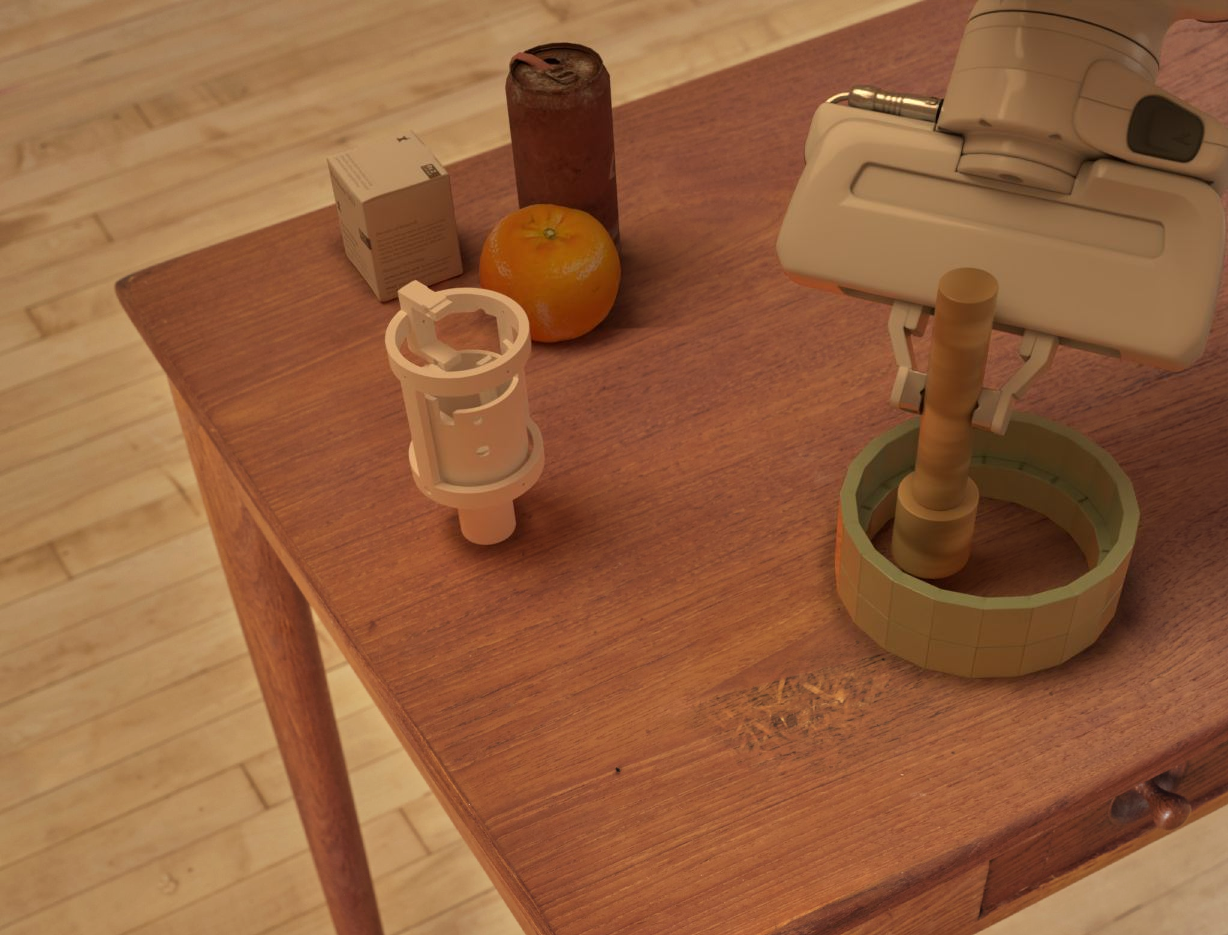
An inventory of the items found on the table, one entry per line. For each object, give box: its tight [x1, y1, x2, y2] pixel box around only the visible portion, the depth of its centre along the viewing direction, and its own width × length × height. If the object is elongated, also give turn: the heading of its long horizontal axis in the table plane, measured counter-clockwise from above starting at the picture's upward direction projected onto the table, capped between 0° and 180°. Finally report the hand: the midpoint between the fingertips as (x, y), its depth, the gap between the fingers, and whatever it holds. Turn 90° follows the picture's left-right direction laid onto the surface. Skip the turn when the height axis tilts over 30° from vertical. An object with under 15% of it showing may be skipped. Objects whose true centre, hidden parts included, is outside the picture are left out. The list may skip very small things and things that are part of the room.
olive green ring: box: [834, 410, 1141, 679], centre depth 82 cm, size 15×15×6 cm
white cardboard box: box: [326, 129, 464, 303], centre depth 101 cm, size 6×6×7 cm
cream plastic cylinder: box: [384, 280, 546, 546], centre depth 83 cm, size 7×7×15 cm
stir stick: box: [890, 268, 999, 580], centre depth 76 cm, size 4×4×16 cm
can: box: [504, 41, 622, 268], centre depth 97 cm, size 6×6×14 cm
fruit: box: [478, 204, 622, 344], centre depth 97 cm, size 8×9×8 cm
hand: (946, 421), depth 75 cm, fingers closed on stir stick, 2 cm apart
